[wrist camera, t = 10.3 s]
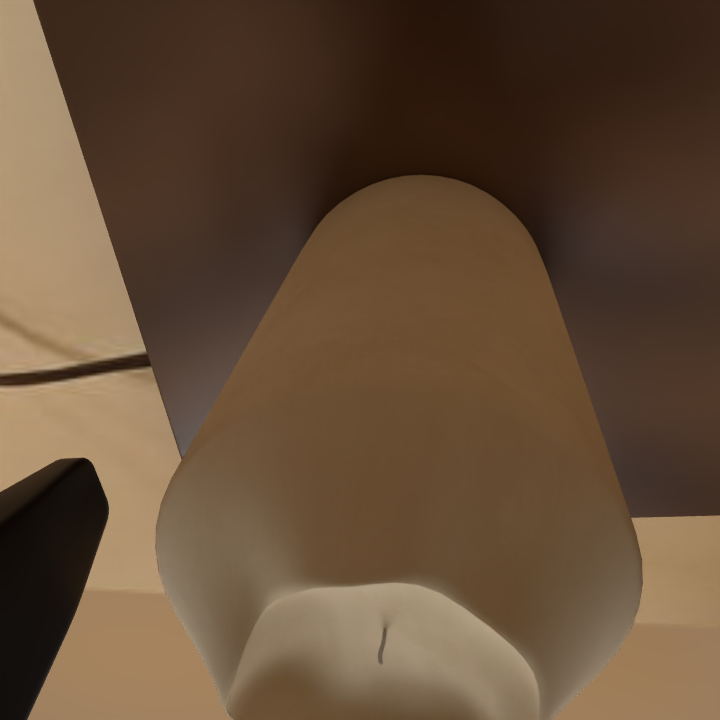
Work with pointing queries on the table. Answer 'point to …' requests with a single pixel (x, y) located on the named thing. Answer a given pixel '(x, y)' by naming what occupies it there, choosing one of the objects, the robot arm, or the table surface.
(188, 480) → the candle
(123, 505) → the table surface
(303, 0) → the dark wooden base block
